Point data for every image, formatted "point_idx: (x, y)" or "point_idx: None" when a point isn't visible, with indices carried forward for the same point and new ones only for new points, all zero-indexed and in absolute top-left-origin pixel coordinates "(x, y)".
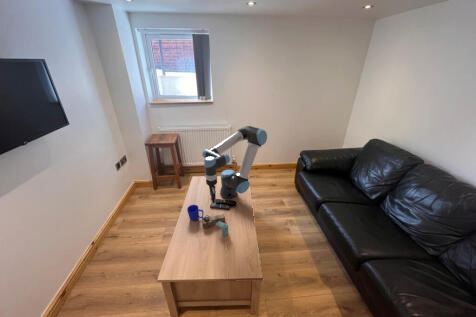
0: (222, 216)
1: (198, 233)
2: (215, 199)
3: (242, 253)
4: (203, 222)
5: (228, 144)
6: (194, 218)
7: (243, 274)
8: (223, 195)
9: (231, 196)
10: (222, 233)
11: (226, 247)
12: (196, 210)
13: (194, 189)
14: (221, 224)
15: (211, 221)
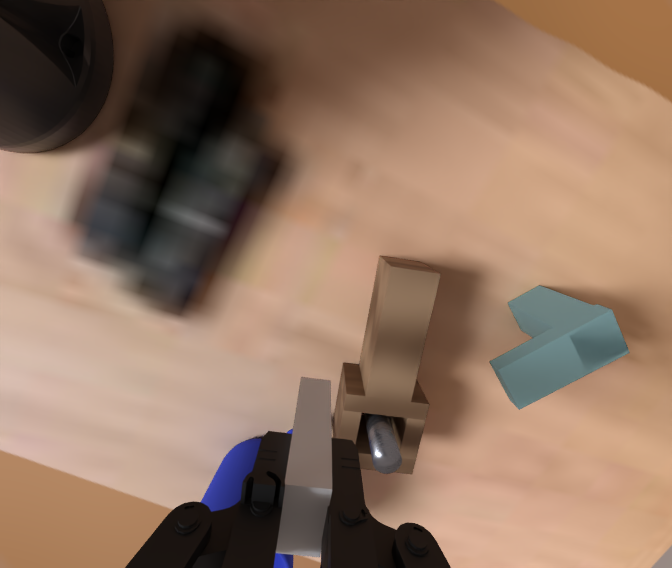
0: (418, 293)
1: (418, 469)
2: (439, 548)
3: None
4: (399, 467)
5: None
6: None
7: None
8: (44, 126)
9: (92, 29)
10: (529, 333)
11: (636, 345)
12: (281, 555)
13: None
14: (559, 364)
15: (424, 406)
